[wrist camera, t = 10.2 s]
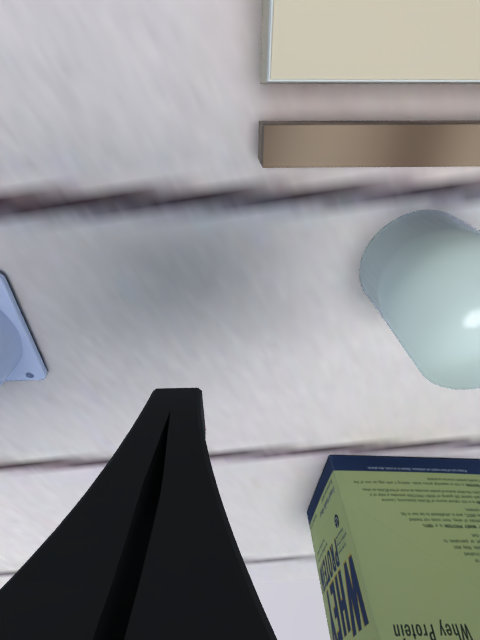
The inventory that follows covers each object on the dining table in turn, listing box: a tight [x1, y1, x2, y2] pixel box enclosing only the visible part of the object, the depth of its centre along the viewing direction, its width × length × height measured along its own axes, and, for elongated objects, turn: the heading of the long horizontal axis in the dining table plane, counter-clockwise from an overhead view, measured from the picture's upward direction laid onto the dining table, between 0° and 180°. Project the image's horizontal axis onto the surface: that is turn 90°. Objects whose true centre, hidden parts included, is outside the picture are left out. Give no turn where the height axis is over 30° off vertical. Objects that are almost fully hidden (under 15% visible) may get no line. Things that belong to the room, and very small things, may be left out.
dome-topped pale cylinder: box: [359, 210, 480, 390], centre depth 16 cm, size 6×6×7 cm
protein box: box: [307, 455, 480, 640], centre depth 26 cm, size 10×16×16 cm
